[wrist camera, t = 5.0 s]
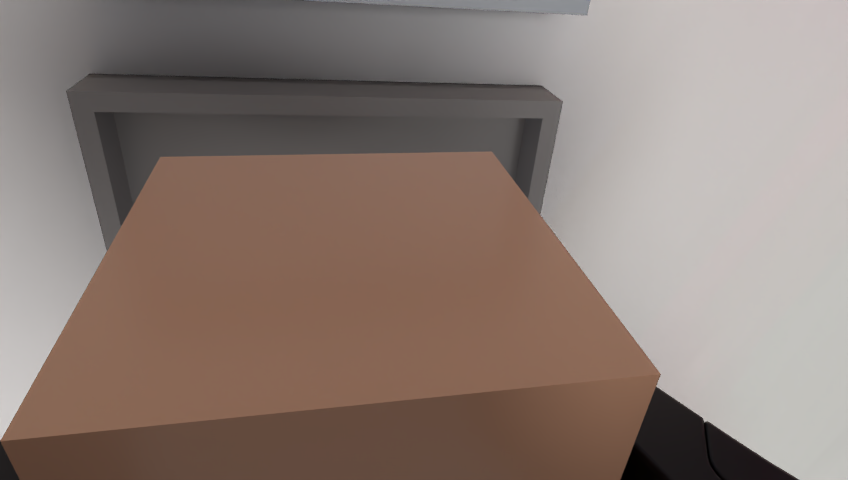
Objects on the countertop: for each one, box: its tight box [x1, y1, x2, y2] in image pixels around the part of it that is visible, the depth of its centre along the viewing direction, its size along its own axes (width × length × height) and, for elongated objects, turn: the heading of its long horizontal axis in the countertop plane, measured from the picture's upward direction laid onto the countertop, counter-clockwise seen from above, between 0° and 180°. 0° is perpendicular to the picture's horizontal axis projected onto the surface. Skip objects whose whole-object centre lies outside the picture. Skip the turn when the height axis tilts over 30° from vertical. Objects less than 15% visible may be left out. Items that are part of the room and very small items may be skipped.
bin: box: [66, 74, 563, 251], centre depth 21 cm, size 15×10×2 cm
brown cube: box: [0, 152, 661, 480], centre depth 8 cm, size 5×5×5 cm
